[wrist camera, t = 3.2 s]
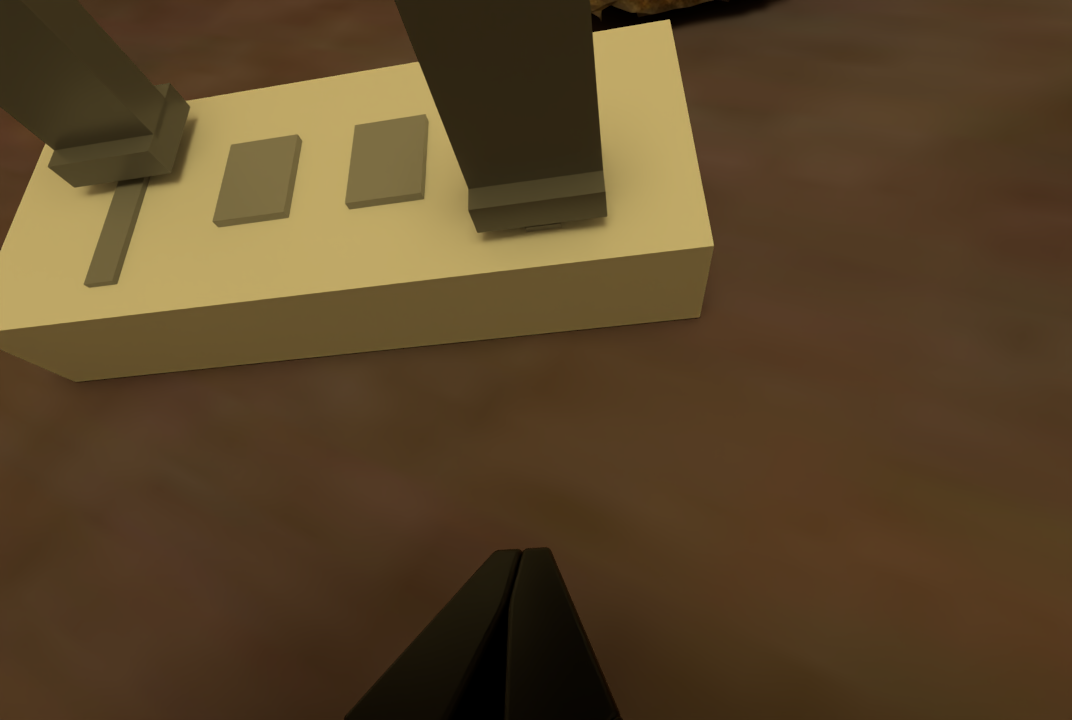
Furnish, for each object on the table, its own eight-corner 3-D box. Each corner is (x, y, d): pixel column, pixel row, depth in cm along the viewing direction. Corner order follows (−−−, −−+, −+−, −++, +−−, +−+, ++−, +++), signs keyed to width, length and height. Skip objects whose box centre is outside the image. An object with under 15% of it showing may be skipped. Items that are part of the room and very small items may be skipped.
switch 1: (172, 172, 19) (-147, -137, 11) (73, 187, 20) (-299, -100, 12) (191, 106, 21) (-85, -214, 13) (98, 122, 21) (-224, -177, 13)
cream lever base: (699, 317, 19) (715, 239, 15) (75, 382, 22) (-45, 330, 18) (664, 114, 23) (670, 10, 19) (135, 193, 26) (46, 117, 22)
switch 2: (609, 216, 16) (580, -187, 8) (475, 233, 16) (324, -131, 8) (600, 133, 17) (567, -286, 9) (476, 151, 18) (345, -232, 10)
